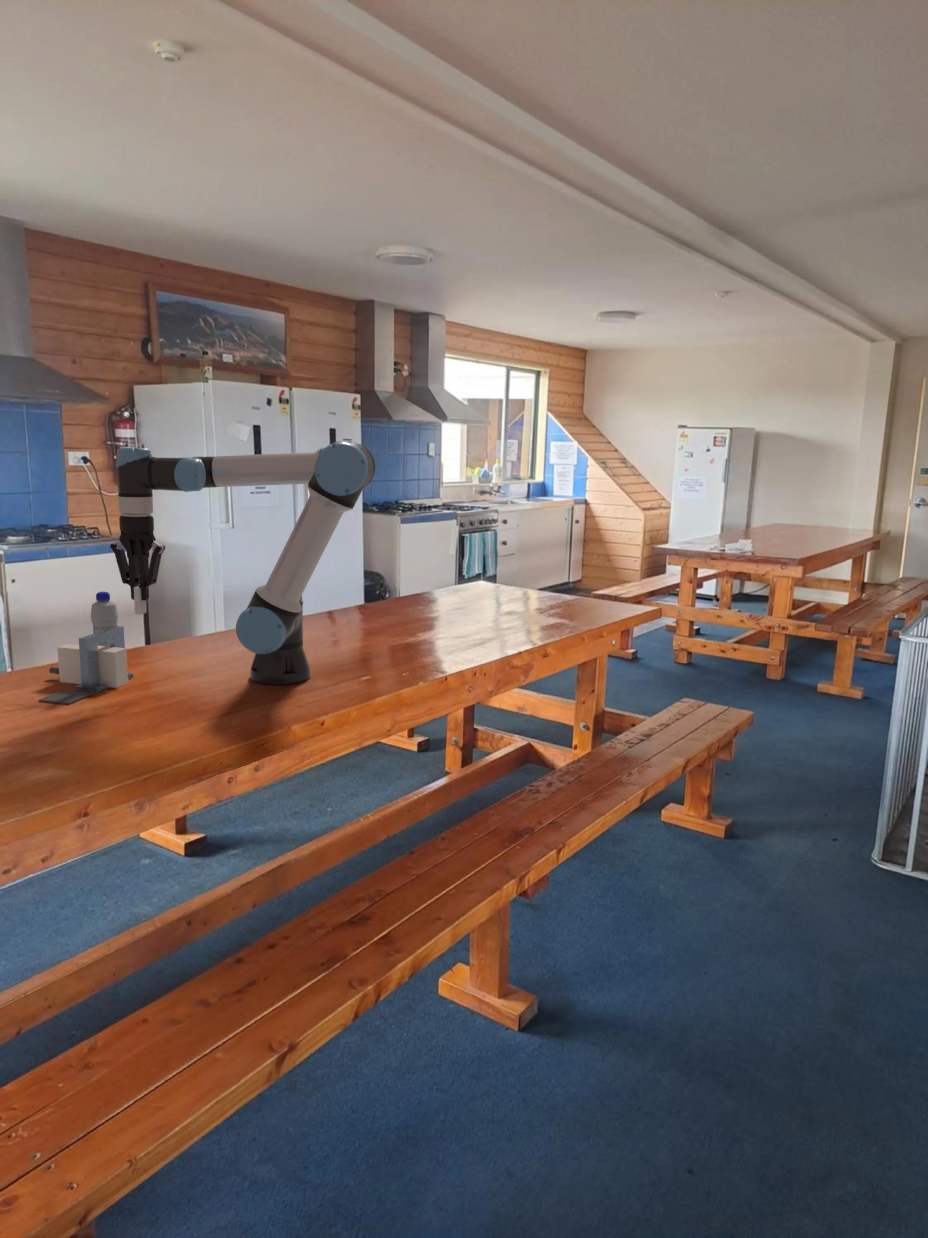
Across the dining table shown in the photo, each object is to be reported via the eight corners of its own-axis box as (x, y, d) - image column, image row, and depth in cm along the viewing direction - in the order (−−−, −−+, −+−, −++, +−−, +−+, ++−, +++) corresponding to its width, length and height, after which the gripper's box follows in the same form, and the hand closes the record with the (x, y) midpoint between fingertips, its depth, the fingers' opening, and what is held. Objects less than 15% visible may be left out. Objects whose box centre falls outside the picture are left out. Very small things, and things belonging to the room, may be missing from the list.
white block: (128, 683, 209) (126, 648, 207) (117, 688, 204) (114, 652, 203) (58, 676, 213) (55, 641, 211) (45, 681, 209) (43, 645, 207)
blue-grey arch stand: (133, 677, 214) (130, 627, 211) (96, 692, 200) (93, 639, 197) (112, 675, 215) (109, 625, 212) (74, 690, 201) (71, 637, 198)
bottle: (92, 669, 220) (87, 594, 216) (95, 662, 226) (91, 589, 222) (119, 668, 222) (115, 593, 218) (122, 661, 228) (118, 589, 224)
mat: (92, 694, 198) (92, 693, 198) (69, 704, 191) (69, 703, 190) (62, 691, 200) (62, 690, 200) (38, 701, 192) (38, 699, 192)
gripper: (170, 514, 199) (173, 612, 204) (119, 512, 201) (124, 608, 206) (154, 517, 192) (158, 618, 197) (101, 514, 194) (106, 614, 199)
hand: (140, 613), depth 201 cm, fingers closed
